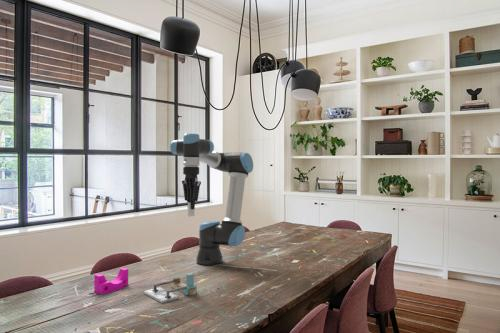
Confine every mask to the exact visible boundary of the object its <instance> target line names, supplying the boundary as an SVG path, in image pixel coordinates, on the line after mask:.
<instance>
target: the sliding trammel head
mask: <svg viewBox="0 0 500 333" xmlns="http://www.w3.org/2000/svg"><path fill="white" fill-rule="evenodd" d="M194 274H195V273H192V272H190V273H189V272H188V273H186V285H185V286H183V287H179V288H175V289H174V288H172V289H166V290H167V291H166V293H167V297H169V293H170V292H171V293H173V292H177V291H179V290H182V289H183V292H182V293H183V295H186V296H190V295H189V289H192V288H195V289H196V294H197V293H198V287H197V284H195V282H194V281H195V278H194V277H195V276H194Z"/></svg>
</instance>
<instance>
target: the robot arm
mask: <svg viewBox="0 0 500 333" xmlns="http://www.w3.org/2000/svg"><path fill="white" fill-rule="evenodd" d="M169 149H170V150H169V151H170V152H171V154H173V155H176V156H178V155H180V156H182V157H183V159H182V161H183V164H182V165H183V167H182V168H183V169H182V173H183V175H185V176H184V180H181V183H182V190H183V196H184V201H186V202H187V216H188V217H194V216H195V209H196V207H195V206H196V205H195V204H196V202H198V201H199V195H200V188H201V187H200V186H201V185H202V182H201V180H200V181H199V178H198V175H200V167H199V166H200V163H203V164H206V165H208V167H210V168H212V169H214V170H217V171H220V172H225V173H227V174H228V176H229V178H230V179H229V186H228V191H227V192H228V193H227V201H226V209H225V216H224V218H223V219H222V220H221V222H220V220H211V221H205V222H201V223H200V224H199V229H198V231H199V233H198V234H199V235H198V236H199V243H198V244H199V245H198V246H199V249H198V251H197V254H196V259H195V260H196V261H195V262H196V263H197V264H198V265H206V266H209V265H218V264H221V263H222V262H223V254H222V251H221V248H220V246H227V247H239V246H240V245H241V244H242V243H243V241H244V240H245V235H246V228H245V227H244V226H243V221H241V214H242V207H243V199H244V198H243V197H244V190H245V183H246V182H245V181H246V179H247V178H248V177H249V174H250V173H252V172H253V169H254V161H253V160H254V159H253V157H252V156H251V155H250V153H248V152H241V151H240V152H218V151H214V150H215V145H214V142H213V141H212V140H210V139H207V138H206V139H203V138H200V134H198V133H184V135H183V139H175V140H172V141H171V143H170V147H169Z"/></svg>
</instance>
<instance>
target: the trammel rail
mask: <svg viewBox="0 0 500 333" xmlns="http://www.w3.org/2000/svg"><path fill="white" fill-rule="evenodd" d="M168 284H170V288H172V289H175V288H179V287H183V286H185V285H187V283H186V284H185V283H183V282H181V277H174V278H173V279H171V280H167V281H162V282H160V283H155V284H153V289H154V290H157V288H158V286H159V287H161V286H163V285H168ZM178 291H179V292H181V293H183V289H182V290H178ZM196 294H197V293H196V289H195V288H192V289H189V295H188V296H194V295H196Z"/></svg>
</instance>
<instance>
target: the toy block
mask: <svg viewBox="0 0 500 333" xmlns="http://www.w3.org/2000/svg"><path fill="white" fill-rule="evenodd" d="M93 276H94V278H93V280H94V283H93V285H94V287H93V289H94V290H93V291H94V292H95V293H97V294H101V295H104V294H107V293H111V292H114V291H119V290H122V289H124V288H123V287H125V286H128V285H129V268H125V267H122V268H119V271H118V274H117V275H116V277H115V278H114V279H112V280H107V279H106V275H105V274H102V273H96V274H94V275H93Z"/></svg>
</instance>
